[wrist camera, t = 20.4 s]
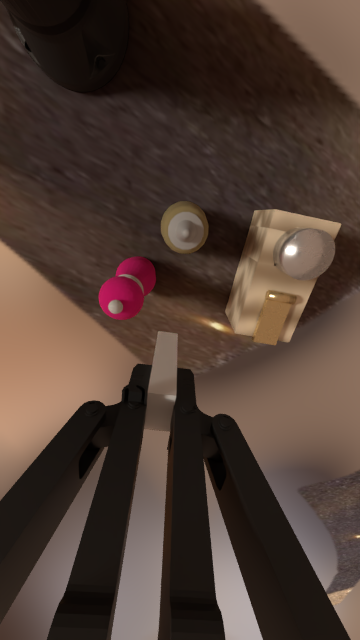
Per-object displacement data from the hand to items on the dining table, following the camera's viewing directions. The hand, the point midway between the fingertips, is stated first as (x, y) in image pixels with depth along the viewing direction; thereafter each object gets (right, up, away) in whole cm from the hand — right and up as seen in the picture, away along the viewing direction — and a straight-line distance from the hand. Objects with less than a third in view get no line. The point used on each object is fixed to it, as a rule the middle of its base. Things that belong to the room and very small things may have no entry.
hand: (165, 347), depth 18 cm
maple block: (+18, +12, +28) cm, 35 cm away
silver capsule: (+19, +16, +24) cm, 34 cm away
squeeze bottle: (+2, +20, +25) cm, 32 cm away
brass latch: (+16, +3, +21) cm, 27 cm away
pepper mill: (-7, +12, +28) cm, 31 cm away
